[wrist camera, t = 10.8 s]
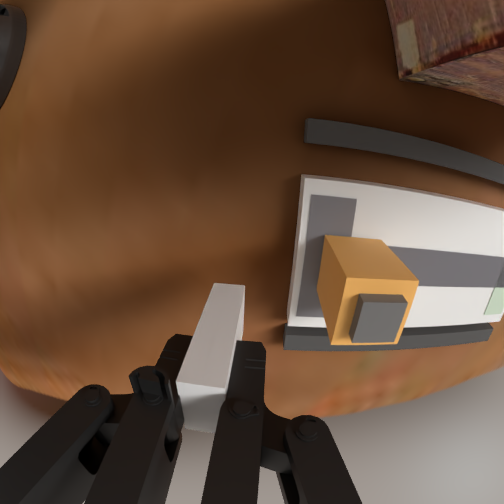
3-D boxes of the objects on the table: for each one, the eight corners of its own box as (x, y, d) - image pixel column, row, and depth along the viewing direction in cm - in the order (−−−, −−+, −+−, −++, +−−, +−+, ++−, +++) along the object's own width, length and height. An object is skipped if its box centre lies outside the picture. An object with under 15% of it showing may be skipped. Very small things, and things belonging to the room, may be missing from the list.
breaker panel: (301, 173, 19) (304, 178, 17) (521, 213, 18) (534, 220, 16) (286, 311, 23) (287, 326, 21) (490, 311, 22) (500, 321, 20)
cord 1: (305, 119, 18) (308, 118, 16) (527, 176, 17) (537, 180, 15) (303, 142, 18) (306, 142, 17) (524, 192, 17) (535, 196, 16)
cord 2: (285, 323, 24) (285, 334, 22) (486, 320, 23) (493, 328, 21) (283, 337, 24) (283, 349, 23) (480, 332, 23) (487, 340, 22)
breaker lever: (324, 234, 18) (350, 285, 12) (380, 239, 18) (426, 288, 12) (316, 289, 20) (333, 354, 13) (369, 291, 20) (401, 353, 13)
